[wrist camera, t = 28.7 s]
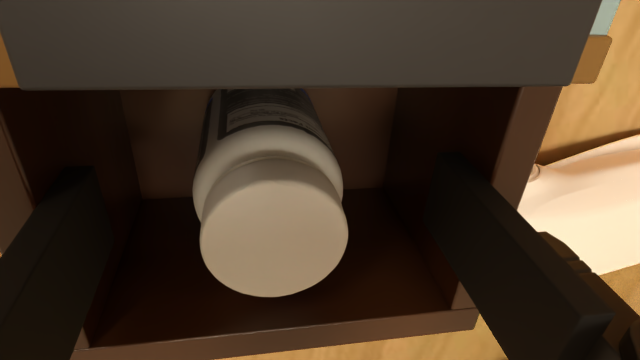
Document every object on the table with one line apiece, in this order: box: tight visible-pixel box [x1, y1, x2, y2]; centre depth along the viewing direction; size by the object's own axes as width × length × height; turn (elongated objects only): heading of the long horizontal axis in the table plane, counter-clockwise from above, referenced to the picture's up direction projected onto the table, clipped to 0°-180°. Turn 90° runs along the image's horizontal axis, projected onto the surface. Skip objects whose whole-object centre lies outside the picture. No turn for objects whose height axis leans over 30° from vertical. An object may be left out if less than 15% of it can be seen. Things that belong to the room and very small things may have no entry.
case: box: [0, 86, 563, 360], centre depth 13 cm, size 14×18×9 cm
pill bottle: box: [192, 88, 348, 297], centre depth 14 cm, size 5×5×8 cm
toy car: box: [517, 134, 640, 275], centre depth 23 cm, size 18×8×4 cm, turn 96°
